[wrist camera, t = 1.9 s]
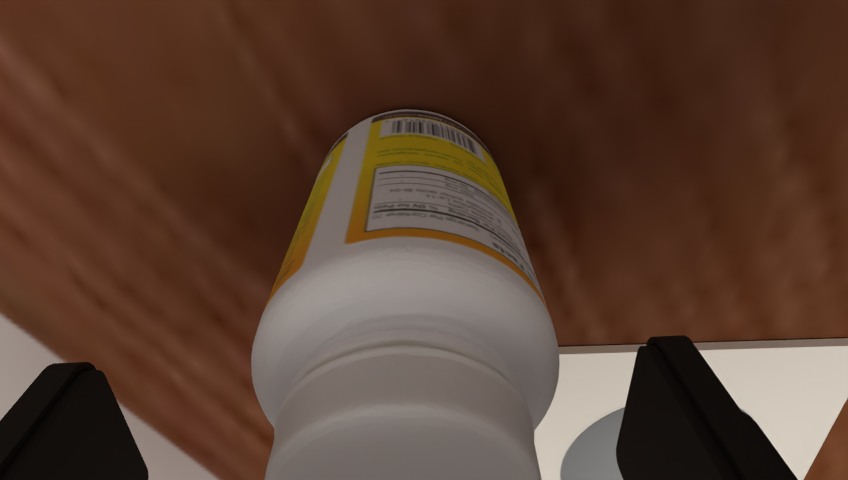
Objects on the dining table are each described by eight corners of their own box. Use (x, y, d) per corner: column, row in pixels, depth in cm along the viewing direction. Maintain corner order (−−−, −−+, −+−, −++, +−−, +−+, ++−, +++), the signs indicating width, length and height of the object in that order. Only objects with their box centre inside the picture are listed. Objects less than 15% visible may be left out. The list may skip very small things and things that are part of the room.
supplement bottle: (368, 288, 18) (320, 632, 9) (285, 146, 15) (107, 439, 7) (524, 233, 17) (639, 563, 8) (464, 70, 14) (537, 300, 5)
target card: (867, 337, 19) (877, 346, 19) (762, 538, 26) (768, 548, 25) (513, 348, 19) (515, 357, 19) (499, 545, 26) (500, 555, 26)
